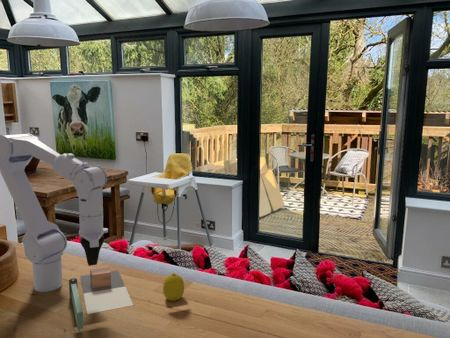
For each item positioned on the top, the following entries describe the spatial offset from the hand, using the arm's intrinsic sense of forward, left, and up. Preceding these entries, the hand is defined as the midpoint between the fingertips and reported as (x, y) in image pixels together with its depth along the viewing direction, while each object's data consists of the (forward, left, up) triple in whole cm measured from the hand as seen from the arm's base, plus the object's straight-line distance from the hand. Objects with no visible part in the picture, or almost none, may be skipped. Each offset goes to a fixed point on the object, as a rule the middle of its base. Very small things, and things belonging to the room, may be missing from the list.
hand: (92, 264), depth 99 cm
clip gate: (+8, -5, -8) cm, 13 cm away
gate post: (-1, -5, -10) cm, 11 cm away
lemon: (+9, +19, -10) cm, 24 cm away
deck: (-3, +3, -10) cm, 11 cm away
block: (-7, +3, -9) cm, 11 cm away
